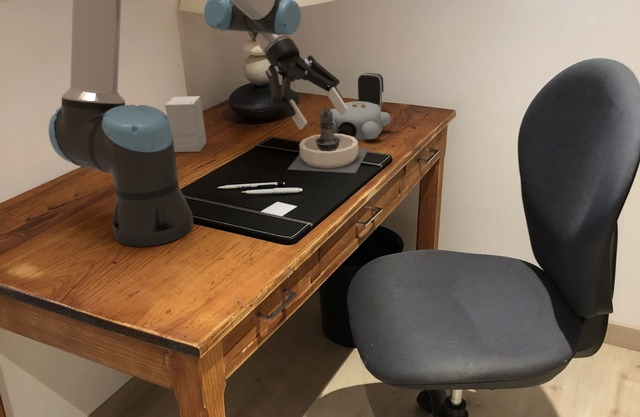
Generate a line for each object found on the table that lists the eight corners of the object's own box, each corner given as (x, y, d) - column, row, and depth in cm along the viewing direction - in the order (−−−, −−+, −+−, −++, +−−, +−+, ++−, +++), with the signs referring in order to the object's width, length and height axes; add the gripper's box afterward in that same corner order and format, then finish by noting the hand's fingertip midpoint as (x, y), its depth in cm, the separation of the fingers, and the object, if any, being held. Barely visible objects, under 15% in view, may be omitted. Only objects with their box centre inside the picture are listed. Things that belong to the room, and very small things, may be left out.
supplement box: (207, 142, 175) (201, 95, 170) (200, 152, 168) (193, 103, 163) (179, 142, 176) (173, 95, 171) (171, 152, 169) (164, 104, 164)
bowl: (351, 170, 152) (350, 154, 150) (294, 167, 155) (293, 151, 153) (362, 150, 163) (362, 134, 162) (309, 147, 167) (308, 132, 165)
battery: (385, 112, 193) (385, 73, 188) (379, 116, 190) (379, 76, 185) (363, 109, 196) (362, 71, 191) (357, 113, 193) (356, 74, 188)
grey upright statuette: (343, 150, 161) (341, 102, 156) (337, 159, 156) (335, 109, 150) (319, 149, 162) (316, 101, 157) (313, 158, 157) (310, 109, 152)
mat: (355, 174, 150) (355, 172, 150) (287, 170, 154) (287, 169, 154) (368, 150, 164) (368, 148, 164) (306, 147, 168) (306, 145, 168)
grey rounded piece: (337, 119, 187) (311, 150, 171) (335, 90, 183) (308, 120, 167) (397, 124, 181) (377, 156, 165) (397, 94, 177) (375, 125, 161)
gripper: (308, 48, 171) (352, 115, 167) (231, 66, 155) (277, 141, 152) (322, 28, 165) (368, 98, 162) (243, 45, 149) (292, 123, 146)
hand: (324, 119), depth 157 cm, fingers open, 13 cm apart
